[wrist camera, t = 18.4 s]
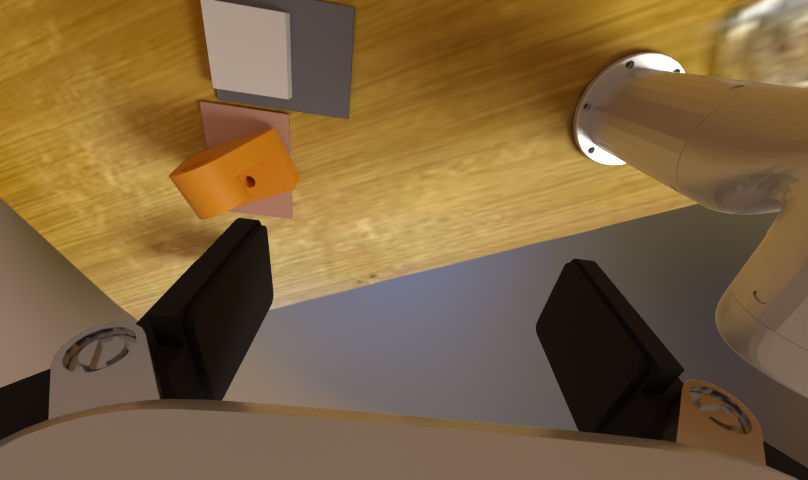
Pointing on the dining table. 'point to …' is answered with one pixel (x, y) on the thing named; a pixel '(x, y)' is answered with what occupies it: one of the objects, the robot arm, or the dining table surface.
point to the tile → (248, 48)
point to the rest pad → (243, 121)
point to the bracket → (235, 174)
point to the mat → (311, 57)
